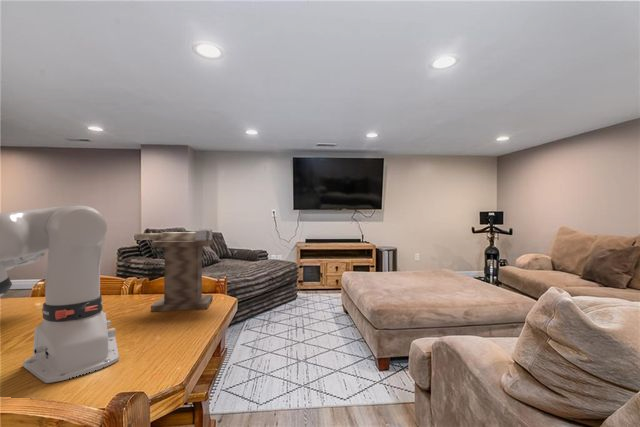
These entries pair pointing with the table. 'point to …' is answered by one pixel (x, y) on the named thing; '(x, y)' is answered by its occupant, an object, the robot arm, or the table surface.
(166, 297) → the walnut stand
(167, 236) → the ash rail
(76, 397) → the table surface
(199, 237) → the cup bracket
